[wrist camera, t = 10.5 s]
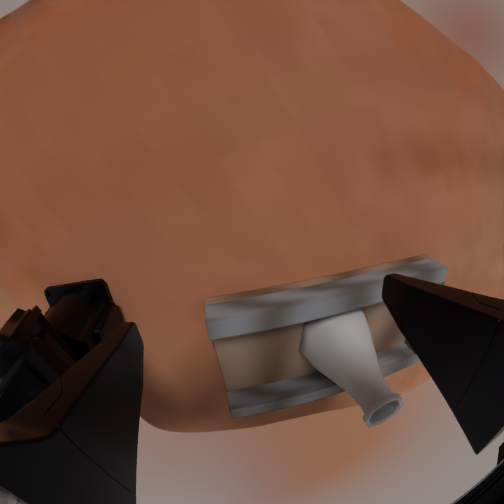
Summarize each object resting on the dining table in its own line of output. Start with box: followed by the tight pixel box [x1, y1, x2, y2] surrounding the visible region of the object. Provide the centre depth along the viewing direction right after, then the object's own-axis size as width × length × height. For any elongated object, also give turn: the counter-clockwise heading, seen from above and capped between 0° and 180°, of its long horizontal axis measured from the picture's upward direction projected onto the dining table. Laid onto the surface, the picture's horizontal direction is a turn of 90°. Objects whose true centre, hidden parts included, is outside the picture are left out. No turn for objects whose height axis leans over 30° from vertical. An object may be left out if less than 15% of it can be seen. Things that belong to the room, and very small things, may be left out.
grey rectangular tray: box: [205, 254, 447, 418], centre depth 24 cm, size 22×12×4 cm, turn 96°
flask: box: [299, 308, 403, 427], centre depth 20 cm, size 7×7×10 cm
